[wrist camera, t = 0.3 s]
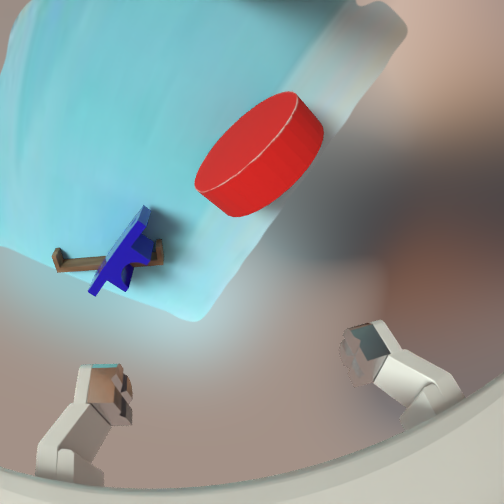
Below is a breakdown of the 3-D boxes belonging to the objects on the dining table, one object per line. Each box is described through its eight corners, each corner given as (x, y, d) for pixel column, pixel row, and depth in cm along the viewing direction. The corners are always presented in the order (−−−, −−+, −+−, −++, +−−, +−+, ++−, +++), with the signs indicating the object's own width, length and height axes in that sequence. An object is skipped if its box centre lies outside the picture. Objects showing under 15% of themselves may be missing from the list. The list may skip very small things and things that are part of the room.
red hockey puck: (216, 185, 55) (231, 242, 39) (192, 165, 52) (197, 216, 36) (294, 110, 50) (348, 134, 33) (273, 87, 46) (320, 98, 30)
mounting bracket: (96, 271, 56) (119, 286, 59) (87, 291, 50) (113, 307, 53) (143, 205, 52) (168, 223, 55) (137, 220, 46) (166, 240, 49)
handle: (55, 248, 54) (50, 259, 51) (161, 239, 59) (160, 250, 55) (61, 264, 56) (56, 275, 53) (163, 256, 61) (163, 267, 58)
